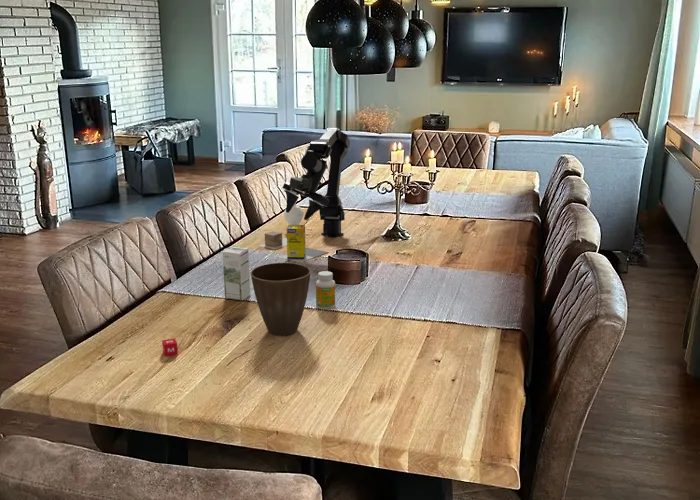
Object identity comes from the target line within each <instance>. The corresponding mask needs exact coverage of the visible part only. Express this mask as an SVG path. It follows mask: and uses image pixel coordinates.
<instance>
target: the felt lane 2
mask: <svg viewBox="0 0 700 500" xmlns="http://www.w3.org/2000/svg"><path fill="white" fill-rule="evenodd" d="M328 253H329V252H328V251H325V250H321V249H320V250H319V249H317V248H316V249H315V248H310V247H305V257H304V259H287V253H286V254H283V255H280V256H278V258H280V259H284V260H289V261H293V262H295V263H297V264H300V263H304V262H306V261H309V260H311V259H315V258H318V257H320V256H323V255H326V254H328Z"/></svg>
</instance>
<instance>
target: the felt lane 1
mask: <svg viewBox="0 0 700 500" xmlns="http://www.w3.org/2000/svg"><path fill="white" fill-rule="evenodd" d="M258 247H263V248H267V249H271V250H276V249H280V248H283V247H287V237H282V245H280V246H277V247H270V246H266V245H265V243H263V244H260V245H258Z"/></svg>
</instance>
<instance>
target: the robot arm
mask: <svg viewBox="0 0 700 500" xmlns="http://www.w3.org/2000/svg"><path fill="white" fill-rule="evenodd" d="M350 143H351V141H350V138H349V135H347V134H346V133H345V132H343V131H342V130H341V129H340V128H338V127H328V128H326V130H325V132H324V133H323V134H322V136H321V137H320V138H319V139H314V140H312V141H310V143H309V144H308V145H307V148H306V150H305V153H304V155H303V157H302V158H301V160H300V163H301V166H302V168H303V169H305V171H306V173H305V174H304V173H303V174H301V176H300V177H299V176H298V177H295V176H294V177H293V176H292V177H290V180H289V182H288V181H286V182H284V184H283V185H282V187H281V188H282V189H283V192H285V194H286V207H285V210H286V212H287V213H289V211H290V210H291V209H292V207H293V206H294V204H295V203H296V204H297V201H298V199H299V195H301V196H302V197H307V198H309V199H308V203H309V204H308V207H307V210H306V211H305V213H304V214H305V215H304V216H303V220H304V221H307V220H309V219H310V218H311V217H312V216H313V215H314V214H316V212H318V211H319V218H320V221H323V225H322V231H323V232H321V235H322V236H326V237H329V238H335V237H339V236H343V235H344V236H345V233H343V232H342V221H345V219H346V218H345V216H346V215H345V214H346V213H345V210H344V208H343V203H342V200H341V197H340V196H339V195H340V185H341V175H342V168H343V160H344V158H345V157H347V154H348V151H349V148H350ZM329 157H330V162H329V166H328V162H327V159H328V158H329ZM328 167H329V168H328ZM326 169H328V170H329V171H328V179H327V188H326V193H325V195H323V194H321V193H319V192H317V190H318V187H319V186H322V184H323V182H321V181H322V179H323V177H324V175H325V172H326Z"/></svg>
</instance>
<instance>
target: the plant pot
mask: <svg viewBox="0 0 700 500" xmlns="http://www.w3.org/2000/svg"><path fill="white" fill-rule="evenodd" d="M250 277H251V283H252V287H253V291H254V295H255V299H256V302H257V306H258V309H259V313H260V315H261V317H262V320H263V323H264V325H265V327H266V330H267V331H268V333H269V334H271V335H273V336H277V337H284V336H285V337H286V336H291V335H293V334H295V333H296V332H297V331H298V328H299V326H300V323H301V320H302V317H303V315H304V314H303V313H304V312H305V311H304V310H305V307H306V302H307V297H308V293H309V288H310V281H311V269H310V268H309V266H306V265H303V264H300V263H296V262H295V263H294V262H293V263H292V262H276V263H275V262H274V263H267V264H262V265H259V266H257V267H255V268H252V270H251V271H250Z"/></svg>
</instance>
